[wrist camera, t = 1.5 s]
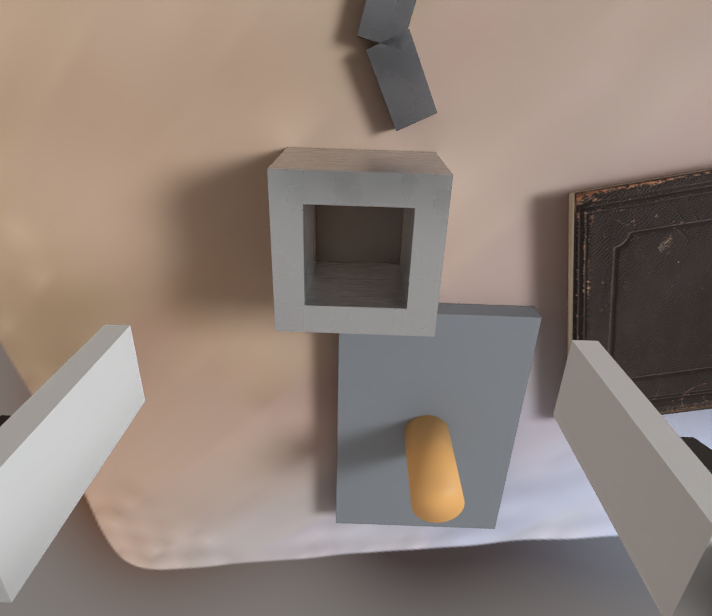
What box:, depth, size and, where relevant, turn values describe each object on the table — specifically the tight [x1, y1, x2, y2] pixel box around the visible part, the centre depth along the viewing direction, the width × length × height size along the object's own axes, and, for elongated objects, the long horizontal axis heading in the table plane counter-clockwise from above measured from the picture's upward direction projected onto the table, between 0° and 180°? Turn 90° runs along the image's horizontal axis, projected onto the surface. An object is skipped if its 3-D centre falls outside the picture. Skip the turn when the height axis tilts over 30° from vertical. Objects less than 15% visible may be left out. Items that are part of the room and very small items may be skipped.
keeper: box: [336, 303, 542, 529], centre depth 31 cm, size 18×12×8 cm, turn 178°
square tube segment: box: [267, 147, 453, 337], centre depth 26 cm, size 8×8×6 cm
